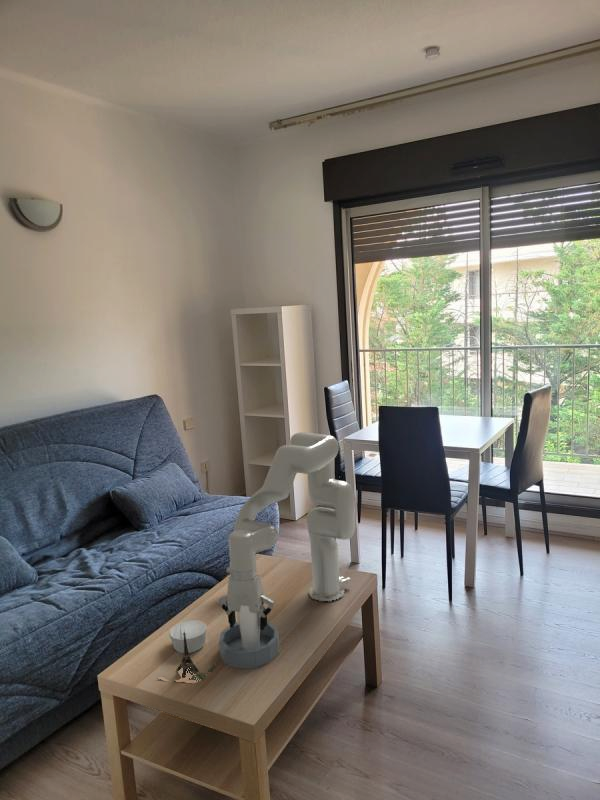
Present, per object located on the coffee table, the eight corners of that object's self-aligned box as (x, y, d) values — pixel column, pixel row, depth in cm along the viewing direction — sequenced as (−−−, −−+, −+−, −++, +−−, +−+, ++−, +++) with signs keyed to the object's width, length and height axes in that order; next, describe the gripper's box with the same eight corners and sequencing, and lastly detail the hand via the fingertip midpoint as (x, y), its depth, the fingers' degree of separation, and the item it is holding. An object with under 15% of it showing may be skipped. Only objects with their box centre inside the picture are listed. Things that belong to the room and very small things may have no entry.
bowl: (262, 628, 186) (261, 614, 185) (289, 654, 171) (288, 638, 170) (212, 647, 177) (210, 631, 176) (235, 675, 162) (234, 659, 161)
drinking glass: (259, 654, 170) (255, 606, 168) (237, 653, 171) (233, 605, 169) (265, 641, 176) (261, 595, 174) (243, 640, 178) (240, 594, 175)
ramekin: (163, 647, 179) (162, 631, 178) (193, 631, 187) (191, 616, 186) (185, 660, 171) (184, 643, 170) (215, 643, 179) (213, 627, 178)
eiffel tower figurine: (154, 682, 162) (149, 638, 160) (170, 661, 172) (166, 619, 170) (204, 687, 159) (200, 642, 157) (217, 665, 168) (214, 622, 166)
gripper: (211, 576, 169) (216, 630, 171) (268, 579, 164) (272, 635, 167) (221, 565, 176) (225, 617, 178) (275, 568, 171) (279, 622, 174)
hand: (248, 626), depth 173 cm, fingers open, 9 cm apart
